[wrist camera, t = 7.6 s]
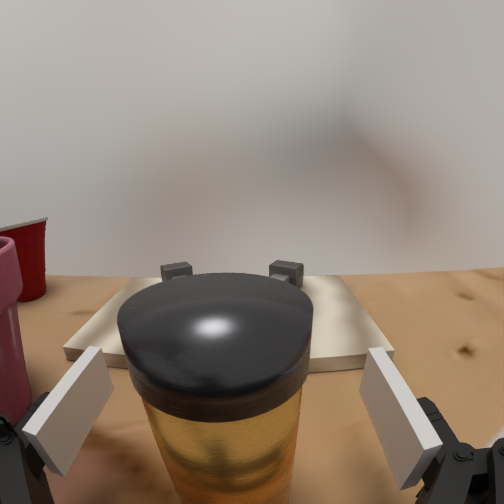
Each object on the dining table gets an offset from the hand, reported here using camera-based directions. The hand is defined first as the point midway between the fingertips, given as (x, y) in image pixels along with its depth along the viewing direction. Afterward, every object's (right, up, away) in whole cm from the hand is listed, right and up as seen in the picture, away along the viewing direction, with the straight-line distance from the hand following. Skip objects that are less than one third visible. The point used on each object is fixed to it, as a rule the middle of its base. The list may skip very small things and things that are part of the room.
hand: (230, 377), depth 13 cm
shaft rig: (-2, -2, +20) cm, 20 cm away
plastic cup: (-35, -1, +25) cm, 43 cm away
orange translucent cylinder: (0, -7, -1) cm, 7 cm away
